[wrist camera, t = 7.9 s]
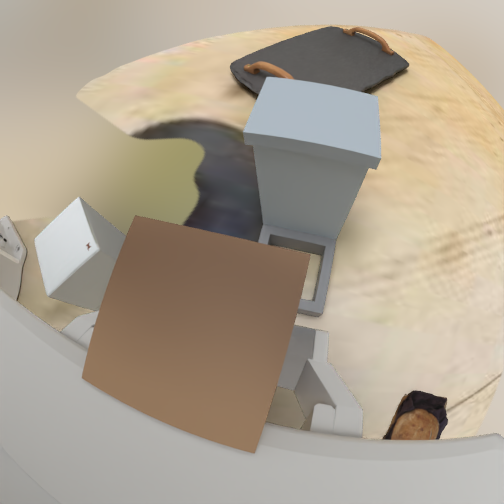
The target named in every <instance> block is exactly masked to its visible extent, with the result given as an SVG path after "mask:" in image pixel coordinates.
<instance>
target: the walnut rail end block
mask: <svg viewBox="0 0 504 504" xmlns="http://www.w3.org/2000/svg"><path fill="white" fill-rule="evenodd" d="M309 260H310V254H306V253H301V252H297V251H293V250H288V249H284V248H280V247H275V246H271V245H267V244H262V243H258V242H254V241H249V240H245V239H240V238H236V237H232V236H227V235H223V234H218V233H214V232H209V231H205V230H200V229H196V228H191V227H187V226H182V225H178V224H173V223H168V222H164V221H159V220H155V219H150V218H146V217H140V216H135V217H134V219H133V222H132V224H131V226H130V228H129V231H128V233H127V236H126V238H125V240H124V243H123V245H122V248H121V250H120V253H119V255H118V258H117V260H116V263H115V266H114V268H113V271H112V274H111V277H110V279H109V282H108V285H107V288H106V291H105V294H104V297H103V300H102V303H101V306H100V309H99V313H98V316H97V319H96V323H95V326H94V329H93V333H92V337H91V340H90V344H89V348H88V352H87V356H86V360H85V364H84V369H83V373H82V379H84V380H85V381H87V382H89V383H90V384H92V385H93V386H95V387H97V388H98V389H100V390H102V391H103V392H105V393H107V394H108V395H110V396H112V397H114V398H115V399H117V400H119V401H121V402H123V403H125V404H127V405H128V406H130V407H132V408H134V409H136V410H138V411H140V412H142V413H144V414H146V415H149V416H151V417H153V418H155V419H157V420H159V421H162V422H164V423H166V424H168V425H171V426H173V427H176V428H178V429H180V430H183V431H186V432H188V433H191V434H193V435H196V436H199V437H202V438H204V439H207V440H210V441H213V442H216V443H219V444H222V445H225V446H229V447H232V448H235V449H239V450H243V451H246V452H250V453H254V454H255V451H256V448H257V445H258V442H259V439H260V437H261V434H262V431H263V428H264V425H265V422H266V419H267V416H268V412H269V409H270V406H271V403H272V400H273V397H274V393H275V390H276V387H277V383H278V380H279V377H280V373H281V370H282V366H283V363H284V359H285V356H286V352H287V349H288V345H289V341H290V338H291V334H292V330H293V326H294V323H295V319H296V315H297V311H298V307H299V303H300V299H301V295H302V290H303V286H304V282H305V278H306V273H307V269H308V264H309Z"/></svg>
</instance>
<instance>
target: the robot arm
mask: <svg viewBox="0 0 504 504" xmlns="http://www.w3.org/2000/svg"><path fill="white" fill-rule="evenodd" d="M26 253H27V250H26V247H25V246H24V244H23V242H22V240H21V238H20V237H19V235H18V233H17V231H16V229H15V227H14V225H13V223H12V221H11V219H10V217H9V216H7V215H6V216H4V217H3V218H1V219H0V504H504V438H503V437H502V436H501V435H500V434H497V433H493V434H486V435H479V436H472V437H463V438H453V439H439V440H382V439H367V438H362V429H363V409H362V408H361V406H360V405H359V403H358V402H357V400H356V399H355V397H354V396H353V395H352V393H351V392H350V390H349V389H348V387H347V386H346V384H345V383H344V381H343V380H342V379H341V377H340V376H339V374H338V373H337V371H336V370H335V368H334V367H333V366H332V364H331V363H327V362H328V346H329V332H328V331H323V330H318V329H311V328H307V327H303V326H298V325H294V326H293V330H292V334H291V338H290V341H289V345H288V349H287V352H286V356H285V359H284V363H283V366H282V370H281V373H280V377H279V380H278V383H277V386H279V387H282V388H286V389H290V390H294V393H295V395H296V398H297V400H298V402H299V405H300V407H301V410H302V412H303V414H304V417H305V419H306V421H305V422H304V424H303V425H302V427H301V428H300V429H295V428H291V427H286V426H281V425H277V424H272V423H268V422H265V425H264V428H263V431H262V434H261V437H260V439H259V442H258V445H257V448H256V451H255V454H254V453H250V452H246V451H243V450H239V449H235V448H232V447H229V446H225V445H222V444H219V443H216V442H213V441H210V440H207V439H204V438H202V437H199V436H196V435H193V434H191V433H188V432H186V431H183V430H180V429H178V428H176V427H173V426H171V425H168V424H166V423H164V422H162V421H159V420H157V419H155V418H153V417H151V416H149V415H146V414H144V413H142V412H140V411H138V410H136V409H134V408H132V407H130V406H128V405H127V404H125V403H123V402H121V401H119V400H117V399H115V398H114V397H112V396H110V395H108V394H107V393H105V392H103V391H102V390H100V389H98V388H97V387H95V386H93V385H92V384H90V383H89V382H87V381H85V380H84V379H82V373H83V369H84V364H85V360H86V356H87V352H88V348H89V344H90V340H91V337H92V333H93V329H94V326H95V323H96V319H97V316H98V313H99V311H95V312H92V313H88V314H84V315H81V316H78V317H76V318H75V319H74V320H73V321H72V322H71V323H70V324H68V325H67V326H66V327H65V328H64V329H63V330H62V331H61V332H59V331H57V330H56V329H54V328H53V327H51V326H50V325H48V324H47V323H46V322H44V321H43V320H41V319H40V318H39V317H37V316H36V315H34V314H33V313H32V312H30V311H29V310H28V309H26V308H25V307H24V306H23V305H21V304H20V303H19V302H18V301H16V300H17V296H18V293H19V288H20V282H21V273H22V266H23V263H24V260H25V257H26Z"/></svg>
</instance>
